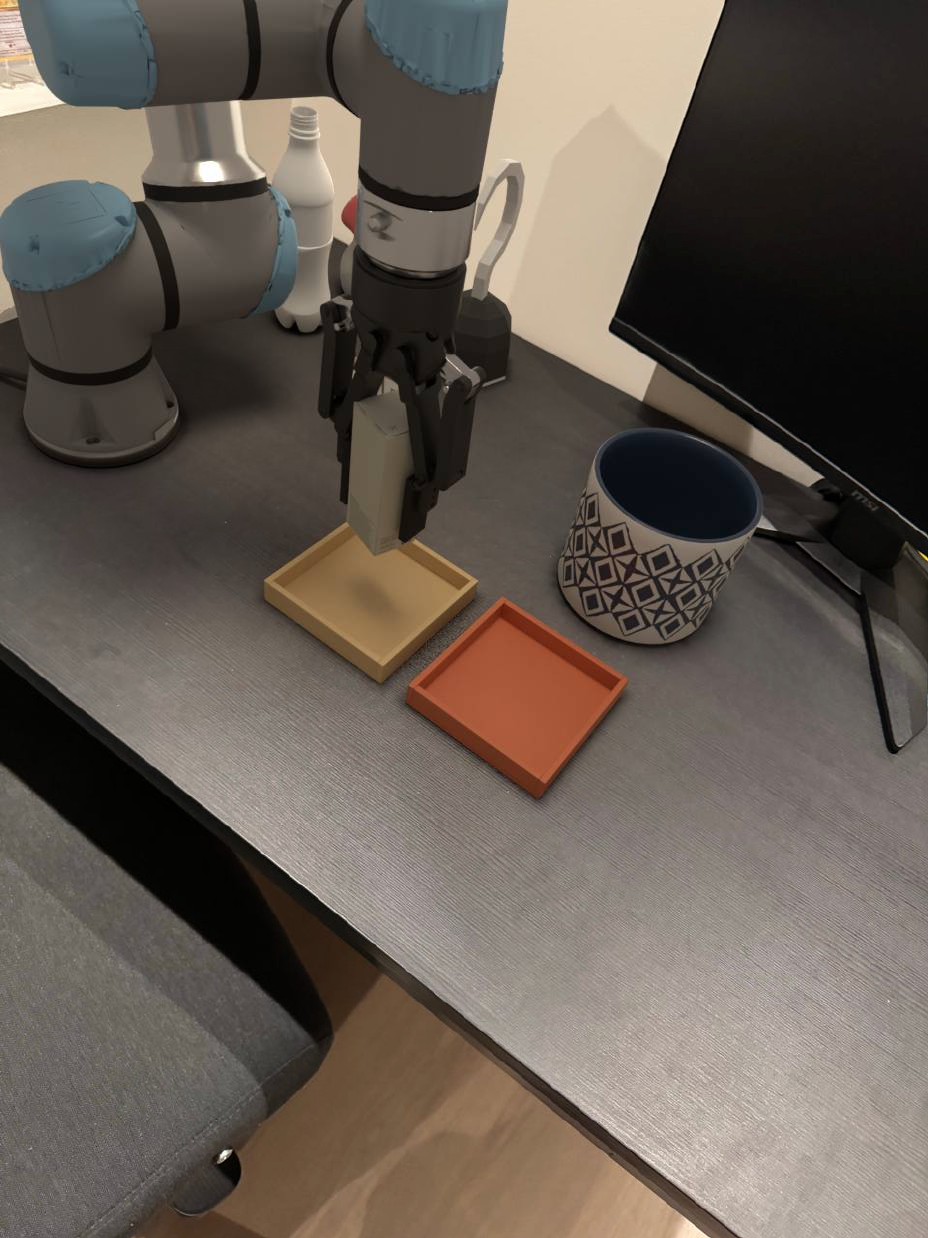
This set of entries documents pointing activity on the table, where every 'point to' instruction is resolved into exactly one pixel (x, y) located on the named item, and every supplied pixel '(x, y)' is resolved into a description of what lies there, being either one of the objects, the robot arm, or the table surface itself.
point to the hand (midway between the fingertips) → (382, 513)
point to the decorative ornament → (347, 258)
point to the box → (379, 471)
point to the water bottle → (306, 218)
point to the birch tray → (370, 598)
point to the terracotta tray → (517, 694)
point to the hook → (481, 313)
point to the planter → (657, 534)
